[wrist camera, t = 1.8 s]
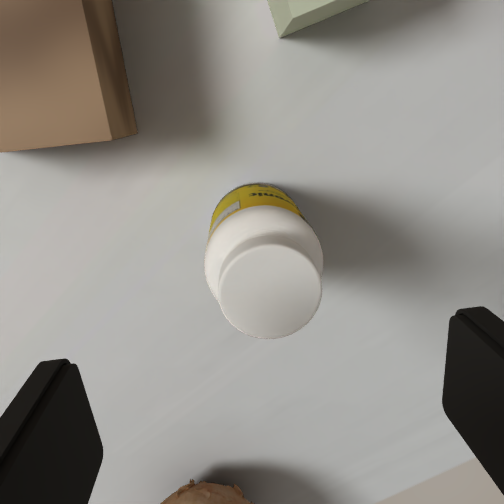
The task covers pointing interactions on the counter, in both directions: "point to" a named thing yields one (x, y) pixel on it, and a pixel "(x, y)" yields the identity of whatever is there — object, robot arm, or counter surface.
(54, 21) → the walnut block
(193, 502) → the onion
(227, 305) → the supplement bottle
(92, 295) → the counter surface
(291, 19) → the sage block
